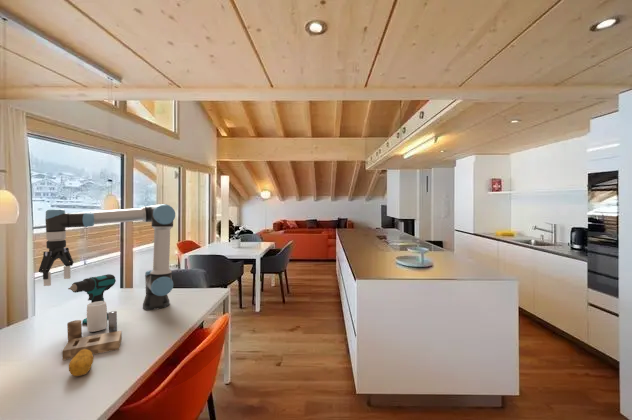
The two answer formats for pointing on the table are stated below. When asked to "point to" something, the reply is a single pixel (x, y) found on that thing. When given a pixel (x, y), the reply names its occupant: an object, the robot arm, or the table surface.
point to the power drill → (94, 287)
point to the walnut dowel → (74, 329)
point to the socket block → (93, 344)
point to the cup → (96, 316)
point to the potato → (81, 363)
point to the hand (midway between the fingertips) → (57, 282)
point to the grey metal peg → (112, 321)
